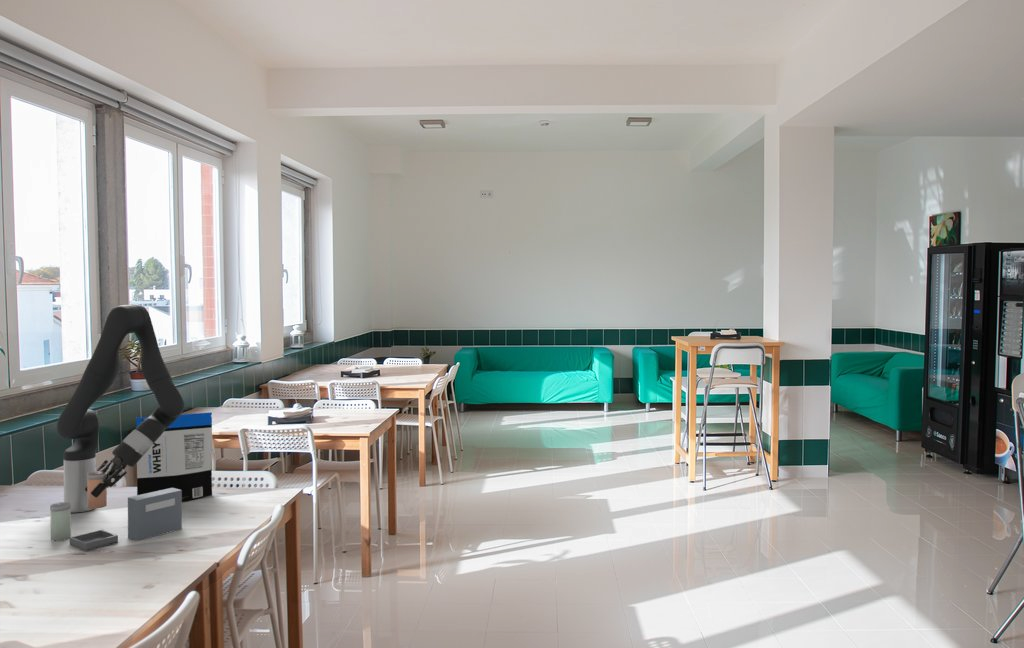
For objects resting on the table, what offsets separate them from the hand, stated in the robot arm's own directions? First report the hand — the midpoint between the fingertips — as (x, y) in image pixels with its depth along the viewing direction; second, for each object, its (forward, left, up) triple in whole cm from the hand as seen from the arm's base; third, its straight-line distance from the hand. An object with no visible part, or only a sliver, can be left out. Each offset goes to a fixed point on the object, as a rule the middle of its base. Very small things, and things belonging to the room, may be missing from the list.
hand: (90, 493), depth 218 cm
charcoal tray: (+8, -3, -13) cm, 16 cm away
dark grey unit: (+13, +12, -13) cm, 22 cm away
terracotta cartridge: (0, +2, -4) cm, 5 cm away
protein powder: (-16, +37, -13) cm, 42 cm away
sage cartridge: (-5, -6, -13) cm, 15 cm away
